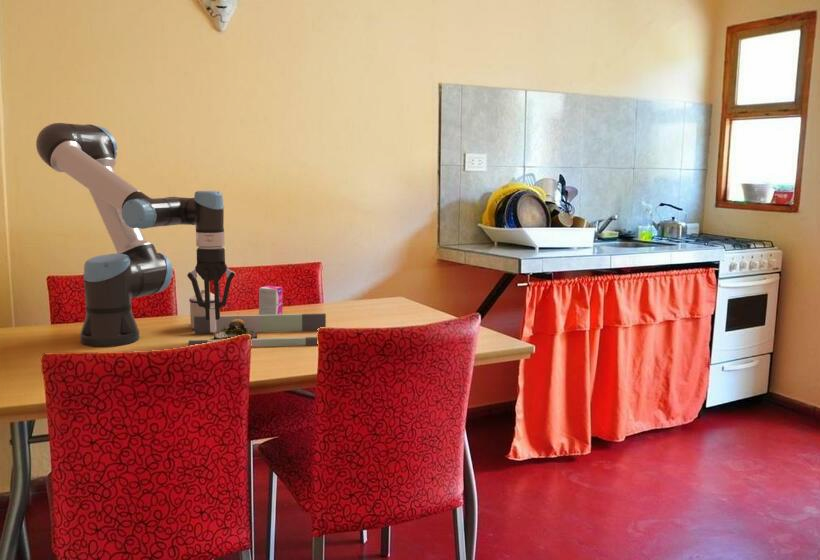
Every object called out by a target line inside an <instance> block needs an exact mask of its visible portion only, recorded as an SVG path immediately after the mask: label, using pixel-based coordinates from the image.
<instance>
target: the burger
mask: <svg viewBox="0 0 820 560" xmlns="http://www.w3.org/2000/svg"><path fill="white" fill-rule="evenodd" d="M244 326H245V323H244V321H243V320H241V319H234V320H232V321H231V322H230V323H229V327H230V328H227V329H225V327H224V326H223V327H224V328H223V329H222V330H221V332H218V333H214V334H213V340H222V339H227V338H231V337H235V336H238V335H242V334H250V335H251V338H252V339H258V333H257V332H253V331H248V329H247V328H245V327H244Z"/></svg>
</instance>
